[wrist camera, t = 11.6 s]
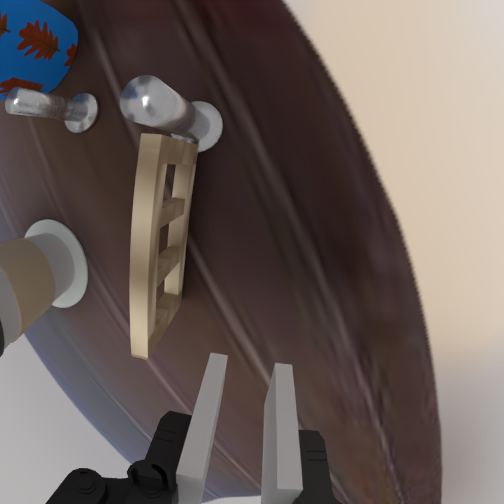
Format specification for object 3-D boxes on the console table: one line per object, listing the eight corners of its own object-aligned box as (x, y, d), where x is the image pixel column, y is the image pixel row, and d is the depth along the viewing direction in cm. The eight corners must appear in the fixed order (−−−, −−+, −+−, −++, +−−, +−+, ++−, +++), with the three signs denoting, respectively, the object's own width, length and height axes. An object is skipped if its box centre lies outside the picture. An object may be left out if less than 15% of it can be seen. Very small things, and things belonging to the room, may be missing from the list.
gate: (184, 143, 23) (141, 133, 15) (198, 145, 23) (161, 134, 15) (168, 301, 27) (131, 355, 18) (181, 303, 27) (148, 360, 18)
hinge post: (177, 101, 23) (112, 59, 12) (227, 105, 23) (194, 56, 12) (169, 149, 24) (96, 140, 13) (219, 155, 24) (178, 145, 13)
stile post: (71, 95, 23) (3, 78, 13) (103, 92, 23) (36, 69, 13) (65, 133, 24) (-6, 128, 14) (96, 132, 24) (25, 125, 14)
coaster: (22, 214, 27) (20, 215, 26) (88, 225, 27) (86, 226, 26) (28, 294, 29) (26, 296, 29) (91, 315, 29) (89, 316, 29)
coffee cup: (77, 315, 29) (-7, 393, 15) (21, 280, 28) (-65, 335, 14) (89, 241, 27) (-23, 302, 12) (29, 210, 26) (-78, 245, 12)
